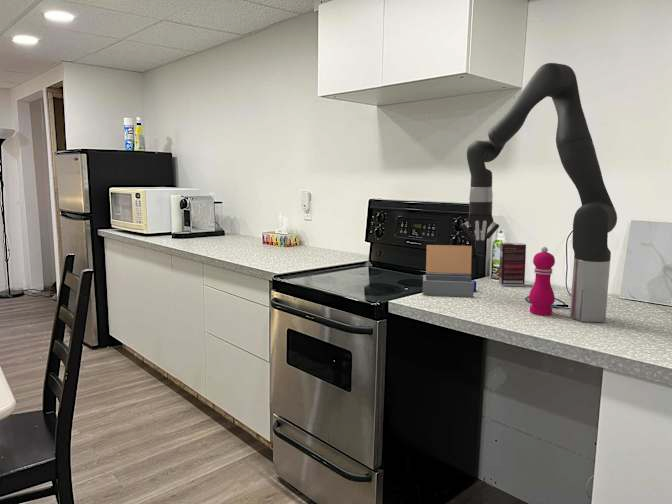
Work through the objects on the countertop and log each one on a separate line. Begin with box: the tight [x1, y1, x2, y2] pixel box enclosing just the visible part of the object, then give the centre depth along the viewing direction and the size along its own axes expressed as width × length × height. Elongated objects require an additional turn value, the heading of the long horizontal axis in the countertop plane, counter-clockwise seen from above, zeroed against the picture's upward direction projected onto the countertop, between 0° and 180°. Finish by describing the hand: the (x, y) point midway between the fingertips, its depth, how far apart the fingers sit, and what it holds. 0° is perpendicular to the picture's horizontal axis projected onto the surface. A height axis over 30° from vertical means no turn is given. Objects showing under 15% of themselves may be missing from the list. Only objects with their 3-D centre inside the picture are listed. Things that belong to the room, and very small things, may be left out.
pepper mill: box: [528, 246, 556, 316], centre depth 150 cm, size 7×7×20 cm
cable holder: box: [470, 279, 477, 293], centre depth 179 cm, size 8×4×4 cm, turn 106°
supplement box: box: [498, 242, 527, 287], centre depth 190 cm, size 9×5×16 cm, turn 84°
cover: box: [425, 244, 473, 277], centre depth 184 cm, size 11×16×1 cm
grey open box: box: [422, 274, 475, 298], centre depth 178 cm, size 11×17×5 cm, turn 80°
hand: (479, 250), depth 174 cm, fingers closed
